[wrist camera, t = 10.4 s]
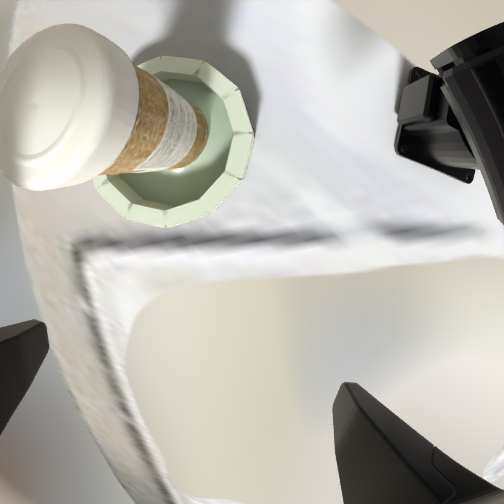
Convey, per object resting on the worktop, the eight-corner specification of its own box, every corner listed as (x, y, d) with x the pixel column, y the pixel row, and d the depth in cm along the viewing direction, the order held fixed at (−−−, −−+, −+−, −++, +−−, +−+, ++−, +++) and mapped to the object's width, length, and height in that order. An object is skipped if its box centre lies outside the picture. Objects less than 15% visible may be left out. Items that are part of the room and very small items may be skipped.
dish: (268, 82, 18) (268, 71, 16) (231, 233, 21) (226, 243, 18) (124, 62, 18) (108, 52, 16) (94, 201, 21) (76, 206, 18)
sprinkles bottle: (127, 142, 19) (-37, 136, 6) (171, 86, 18) (41, -1, 5) (179, 185, 20) (44, 229, 7) (226, 127, 19) (149, 65, 6)
